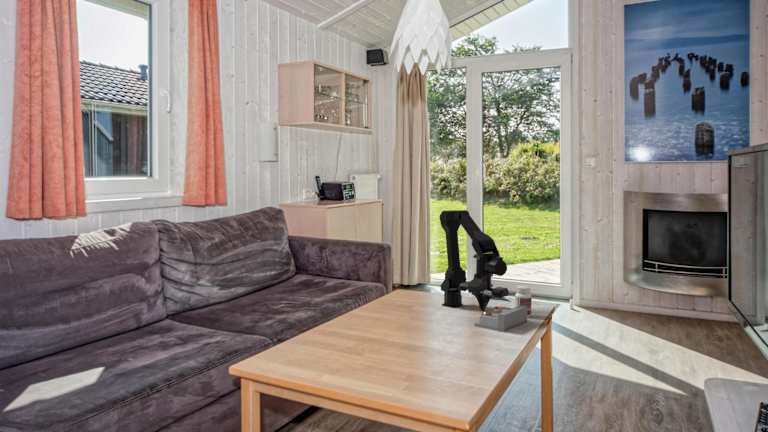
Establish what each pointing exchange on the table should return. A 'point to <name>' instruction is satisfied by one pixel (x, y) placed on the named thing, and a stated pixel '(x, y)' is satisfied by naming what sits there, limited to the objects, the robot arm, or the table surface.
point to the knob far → (499, 309)
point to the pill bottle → (523, 298)
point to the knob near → (490, 314)
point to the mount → (504, 319)
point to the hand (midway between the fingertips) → (482, 311)
